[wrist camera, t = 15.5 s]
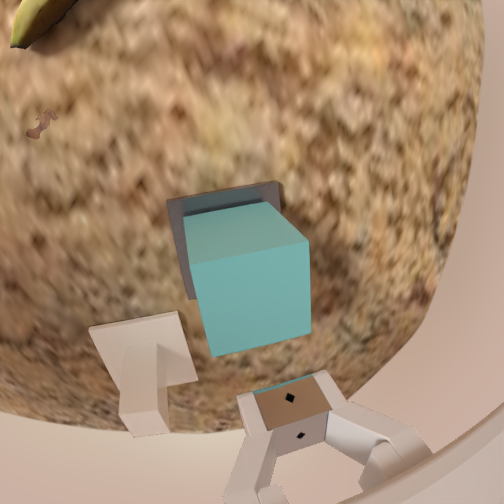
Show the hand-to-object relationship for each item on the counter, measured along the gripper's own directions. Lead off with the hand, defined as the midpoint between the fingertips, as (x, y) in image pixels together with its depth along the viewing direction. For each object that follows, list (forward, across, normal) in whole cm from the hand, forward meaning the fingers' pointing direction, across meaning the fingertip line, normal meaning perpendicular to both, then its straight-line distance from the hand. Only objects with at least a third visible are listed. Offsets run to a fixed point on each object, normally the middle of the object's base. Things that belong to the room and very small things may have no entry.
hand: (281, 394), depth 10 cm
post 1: (+13, +7, +8) cm, 17 cm away
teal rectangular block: (+12, -1, 0) cm, 12 cm away
